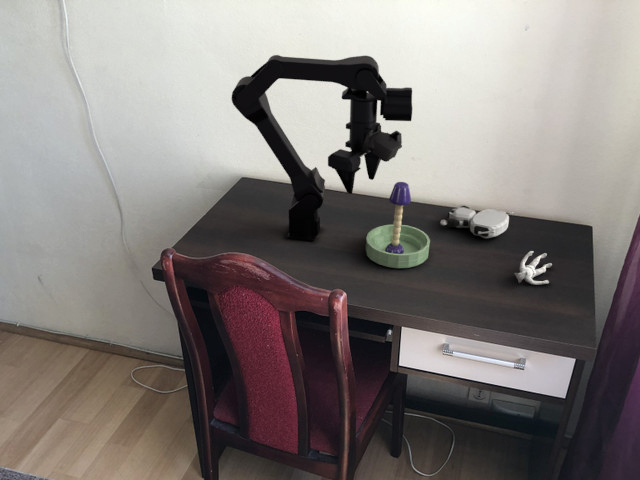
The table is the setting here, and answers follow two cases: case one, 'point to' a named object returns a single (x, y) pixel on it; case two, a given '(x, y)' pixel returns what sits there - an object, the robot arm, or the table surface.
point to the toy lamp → (398, 215)
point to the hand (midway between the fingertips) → (360, 186)
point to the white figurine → (532, 270)
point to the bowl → (410, 240)
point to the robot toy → (478, 221)
